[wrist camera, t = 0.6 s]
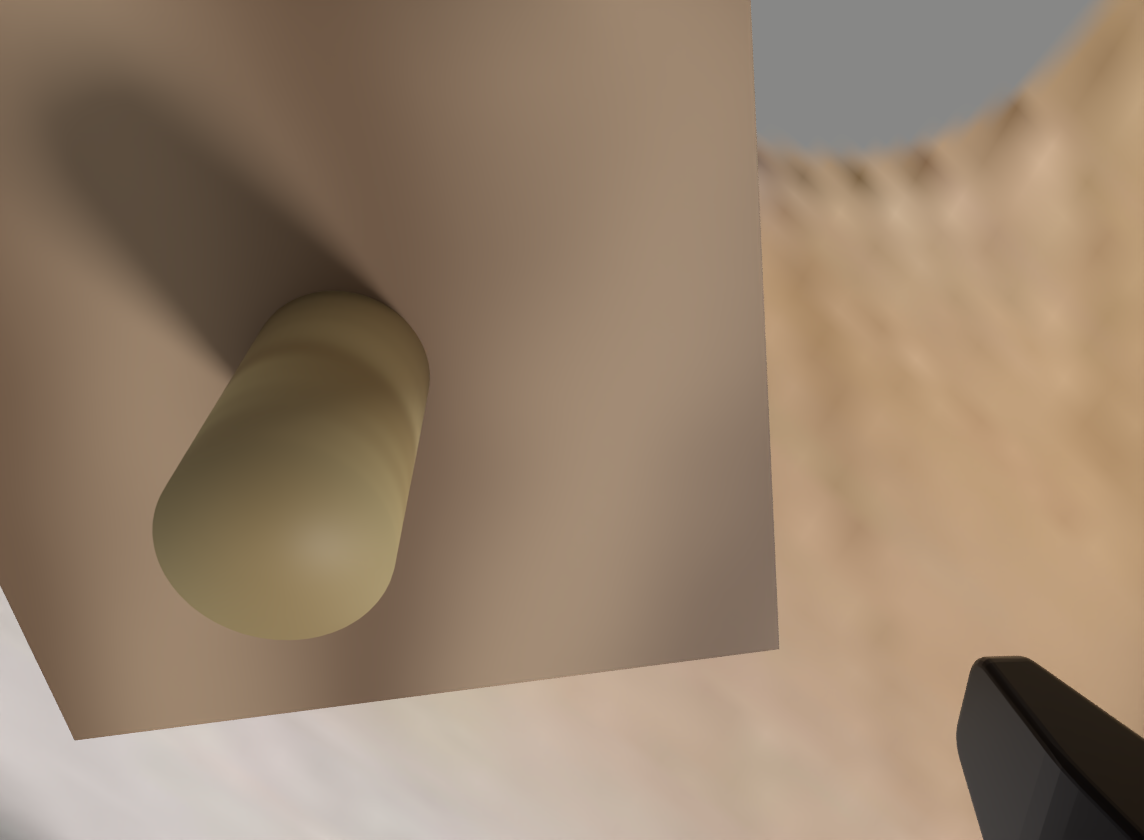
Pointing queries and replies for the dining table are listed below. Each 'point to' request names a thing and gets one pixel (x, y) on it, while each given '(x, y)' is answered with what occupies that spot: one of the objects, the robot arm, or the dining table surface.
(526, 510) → the lid
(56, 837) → the dining table surface
